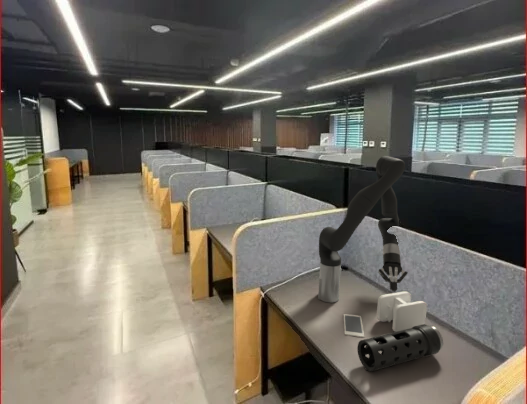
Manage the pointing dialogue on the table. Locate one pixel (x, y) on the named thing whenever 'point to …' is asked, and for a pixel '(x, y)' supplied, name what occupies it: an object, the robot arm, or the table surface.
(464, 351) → the table surface
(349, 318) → the phone
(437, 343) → the muzzle brake
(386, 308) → the white toothbrush holder
